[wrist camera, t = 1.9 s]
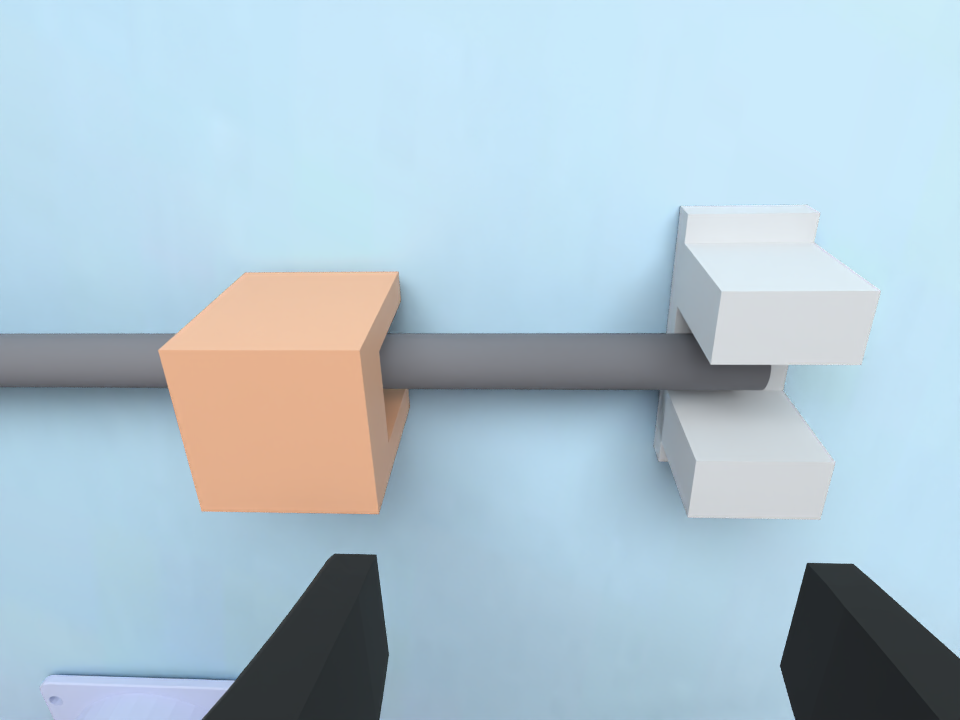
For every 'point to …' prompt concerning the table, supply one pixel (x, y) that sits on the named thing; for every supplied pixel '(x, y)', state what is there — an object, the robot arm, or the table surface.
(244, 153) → the table surface
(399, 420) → the sleeve
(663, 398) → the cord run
